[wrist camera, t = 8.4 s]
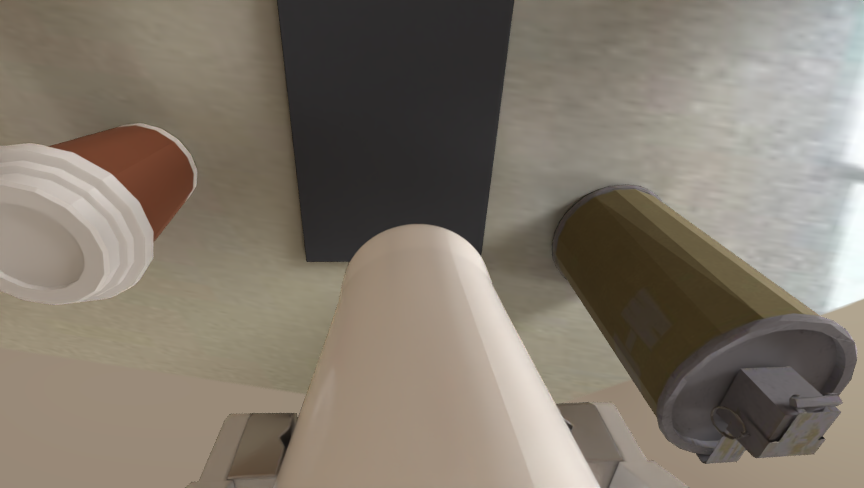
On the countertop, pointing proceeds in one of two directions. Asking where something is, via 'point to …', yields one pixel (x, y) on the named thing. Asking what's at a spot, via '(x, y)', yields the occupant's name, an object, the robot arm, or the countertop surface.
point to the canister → (703, 330)
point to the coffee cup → (88, 211)
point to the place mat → (392, 115)
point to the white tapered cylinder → (427, 381)
